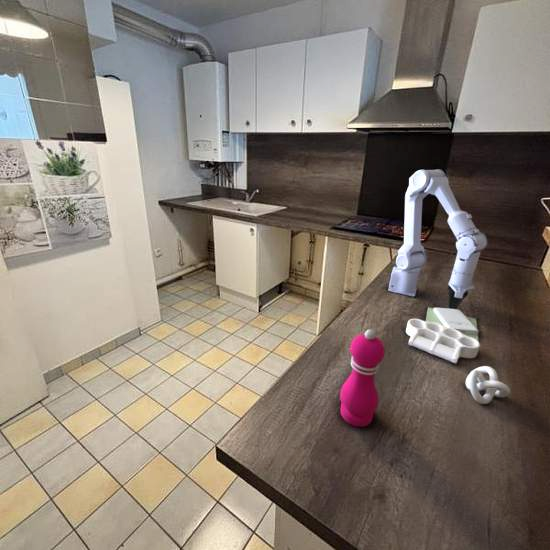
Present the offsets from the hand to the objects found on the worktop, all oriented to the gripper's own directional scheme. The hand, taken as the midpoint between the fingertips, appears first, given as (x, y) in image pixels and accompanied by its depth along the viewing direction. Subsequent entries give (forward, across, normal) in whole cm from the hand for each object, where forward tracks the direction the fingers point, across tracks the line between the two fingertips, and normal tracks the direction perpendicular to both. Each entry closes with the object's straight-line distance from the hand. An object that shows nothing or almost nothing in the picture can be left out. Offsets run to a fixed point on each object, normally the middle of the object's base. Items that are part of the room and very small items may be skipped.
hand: (452, 308), depth 97 cm
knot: (+2, -39, -6) cm, 39 cm away
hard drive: (+1, -7, -1) cm, 7 cm away
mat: (+1, -8, 0) cm, 8 cm away
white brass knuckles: (+2, -23, +3) cm, 23 cm away
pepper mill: (+2, -58, +16) cm, 60 cm away
